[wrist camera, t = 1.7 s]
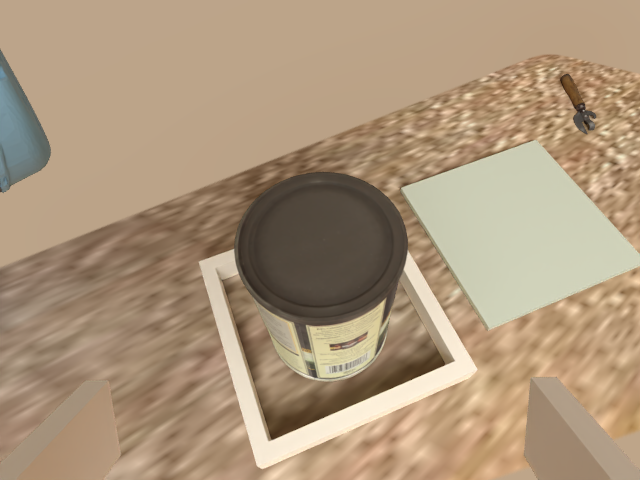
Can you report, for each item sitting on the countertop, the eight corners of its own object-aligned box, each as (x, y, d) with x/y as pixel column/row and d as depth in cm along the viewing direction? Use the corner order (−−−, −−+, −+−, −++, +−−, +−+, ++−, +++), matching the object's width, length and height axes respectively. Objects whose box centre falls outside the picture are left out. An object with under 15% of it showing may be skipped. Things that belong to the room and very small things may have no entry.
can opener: (558, 81, 52) (562, 73, 51) (578, 81, 52) (582, 73, 51) (577, 137, 48) (582, 129, 47) (599, 137, 48) (604, 129, 47)
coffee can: (327, 249, 42) (320, 146, 30) (412, 321, 38) (444, 236, 26) (244, 322, 38) (198, 240, 26) (328, 411, 34) (319, 361, 22)
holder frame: (263, 468, 32) (257, 466, 30) (206, 274, 41) (198, 261, 39) (469, 377, 35) (477, 369, 33) (375, 212, 43) (377, 197, 41)
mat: (487, 330, 37) (489, 328, 36) (400, 191, 45) (401, 187, 44) (642, 264, 39) (646, 261, 39) (533, 143, 47) (536, 139, 47)
